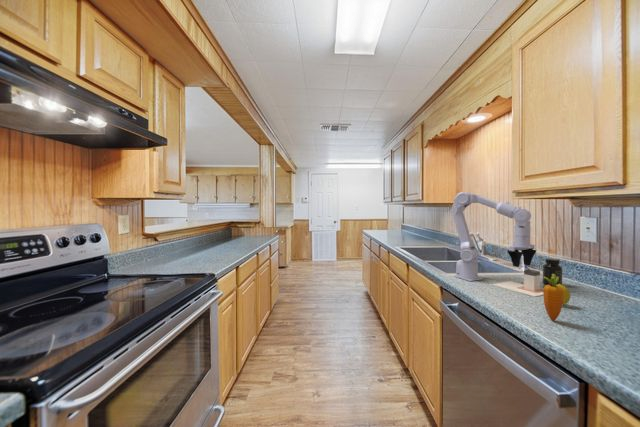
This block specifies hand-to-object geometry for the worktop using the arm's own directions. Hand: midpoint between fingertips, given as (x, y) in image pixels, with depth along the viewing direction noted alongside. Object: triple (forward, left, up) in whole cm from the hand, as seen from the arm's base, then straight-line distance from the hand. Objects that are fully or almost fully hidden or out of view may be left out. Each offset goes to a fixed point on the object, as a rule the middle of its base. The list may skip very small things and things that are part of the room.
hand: (521, 265), depth 121 cm
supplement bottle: (+4, +16, -10) cm, 19 cm away
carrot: (+27, -29, -10) cm, 40 cm away
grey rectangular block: (+5, -1, -9) cm, 10 cm away
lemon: (+20, -11, -10) cm, 25 cm away
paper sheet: (+2, -3, -10) cm, 10 cm away
